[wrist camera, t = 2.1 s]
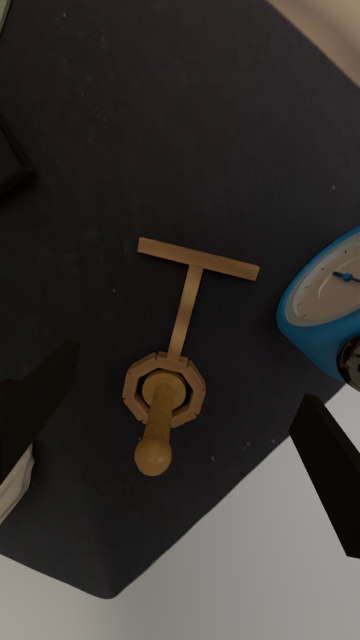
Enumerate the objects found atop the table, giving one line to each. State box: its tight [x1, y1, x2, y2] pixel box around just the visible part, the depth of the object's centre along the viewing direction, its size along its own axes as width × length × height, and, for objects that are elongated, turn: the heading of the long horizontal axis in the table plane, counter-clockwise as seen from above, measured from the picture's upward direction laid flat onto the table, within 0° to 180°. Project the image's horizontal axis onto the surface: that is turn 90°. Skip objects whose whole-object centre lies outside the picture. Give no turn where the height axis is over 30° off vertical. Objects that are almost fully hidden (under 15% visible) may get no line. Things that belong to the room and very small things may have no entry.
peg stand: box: [135, 369, 186, 476], centre depth 28 cm, size 5×5×12 cm
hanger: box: [122, 237, 260, 428], centre depth 31 cm, size 21×12×1 cm, turn 166°
